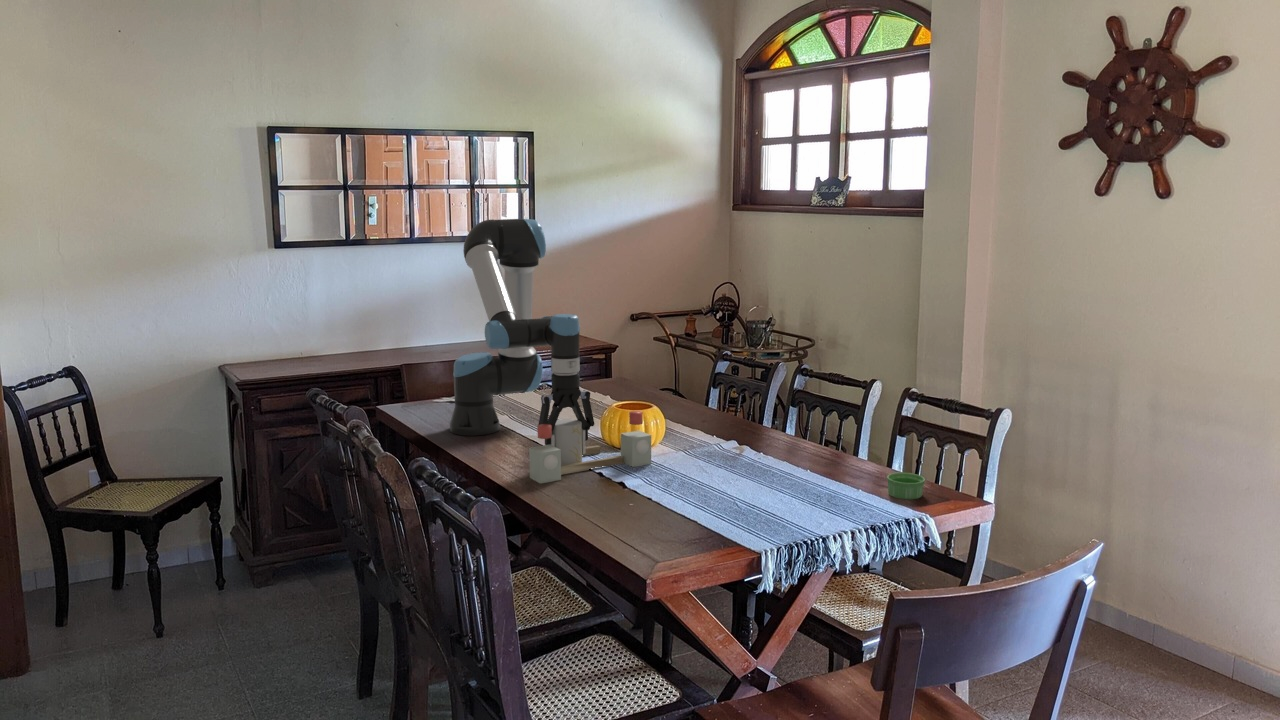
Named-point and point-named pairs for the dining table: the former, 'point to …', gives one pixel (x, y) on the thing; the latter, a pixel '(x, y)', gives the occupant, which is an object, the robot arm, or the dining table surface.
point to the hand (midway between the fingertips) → (566, 455)
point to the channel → (591, 462)
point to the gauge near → (544, 431)
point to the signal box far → (636, 448)
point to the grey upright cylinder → (568, 440)
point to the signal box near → (545, 463)
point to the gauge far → (635, 417)
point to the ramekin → (905, 485)
